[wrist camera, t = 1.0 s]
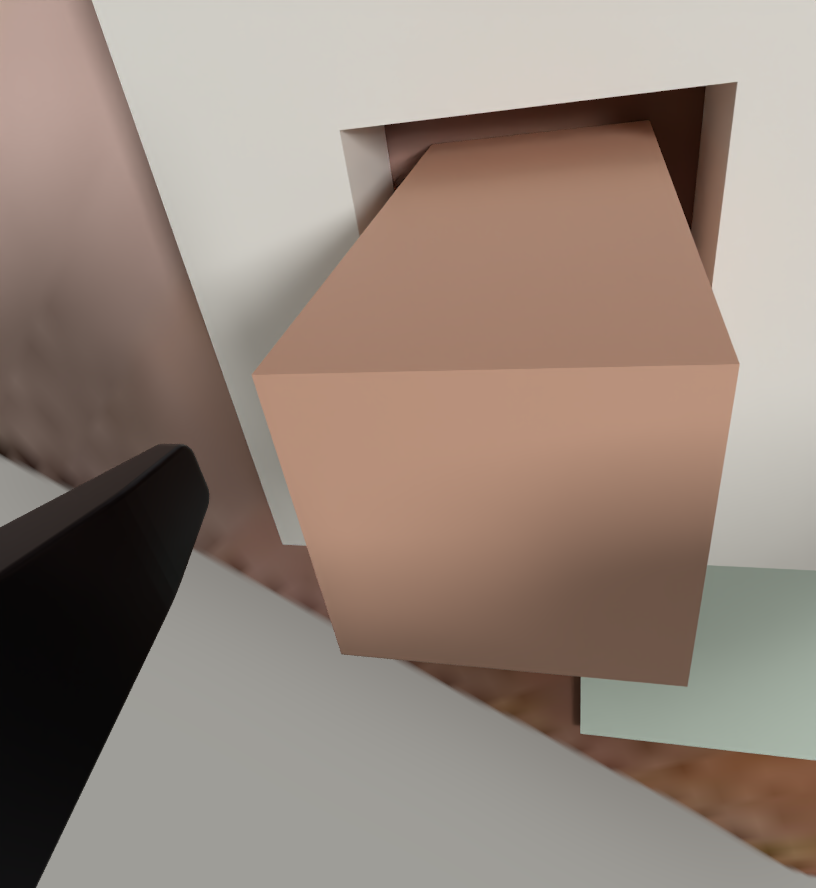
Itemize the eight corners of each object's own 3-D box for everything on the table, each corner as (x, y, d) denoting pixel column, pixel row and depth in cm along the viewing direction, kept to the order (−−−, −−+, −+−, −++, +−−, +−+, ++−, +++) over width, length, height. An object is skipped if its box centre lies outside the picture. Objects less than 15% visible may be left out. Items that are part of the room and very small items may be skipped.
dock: (1053, -314, 9) (1215, -406, 7) (826, 488, 17) (864, 573, 15) (149, -101, 13) (52, -112, 11) (316, 478, 21) (282, 544, 19)
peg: (649, 119, 13) (739, 363, 6) (637, 323, 16) (687, 686, 8) (431, 144, 14) (251, 374, 7) (453, 330, 17) (341, 654, 9)
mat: (965, 556, 18) (972, 567, 17) (870, 755, 23) (874, 766, 23) (581, 540, 20) (581, 549, 20) (580, 723, 26) (580, 733, 26)
